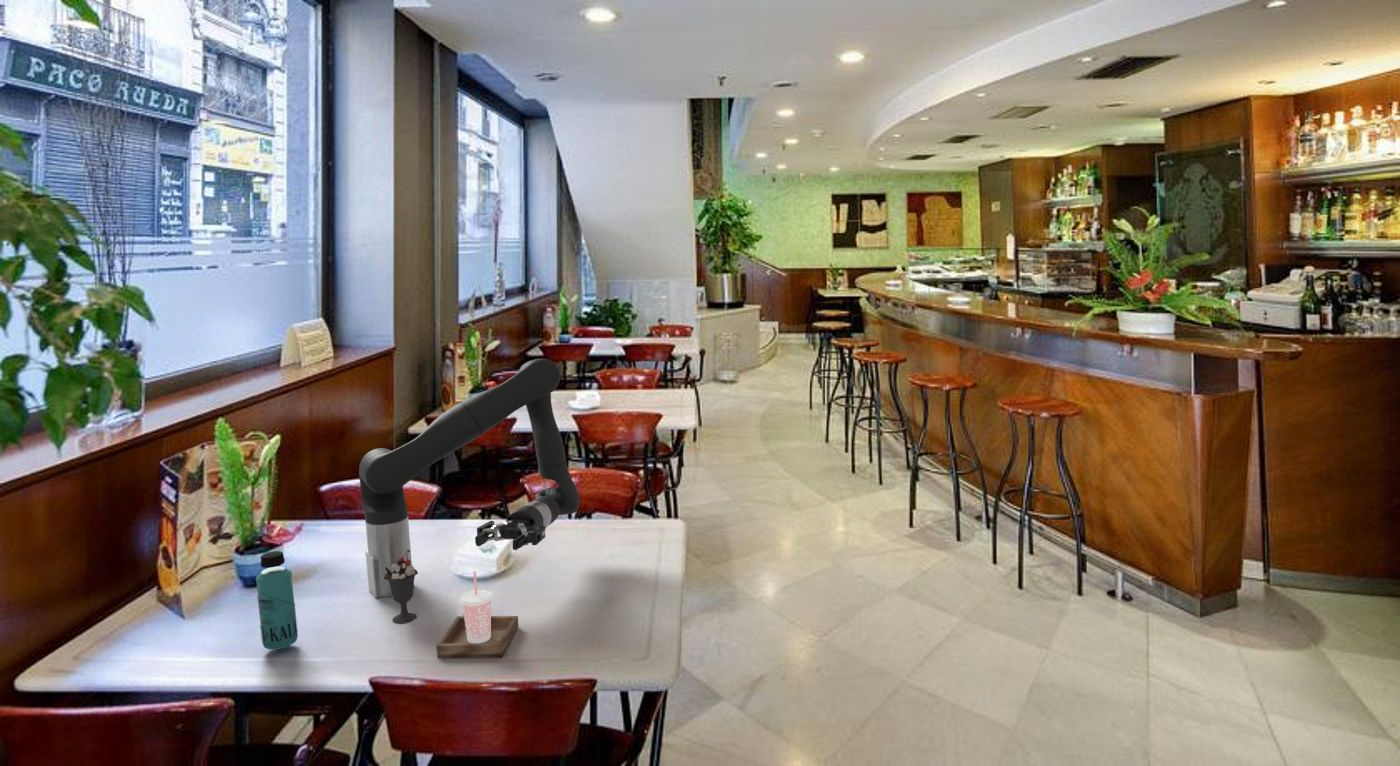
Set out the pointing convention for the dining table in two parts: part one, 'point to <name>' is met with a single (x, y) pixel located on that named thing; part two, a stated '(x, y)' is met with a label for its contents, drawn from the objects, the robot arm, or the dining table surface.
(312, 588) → the dining table surface
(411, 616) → the sundae
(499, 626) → the walnut tray
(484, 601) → the beverage cup
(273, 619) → the beverage bottle
